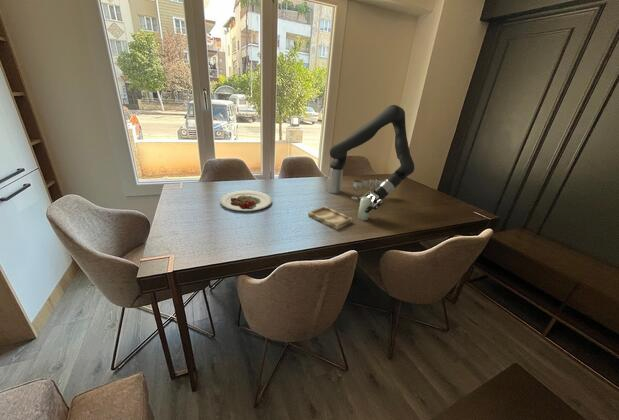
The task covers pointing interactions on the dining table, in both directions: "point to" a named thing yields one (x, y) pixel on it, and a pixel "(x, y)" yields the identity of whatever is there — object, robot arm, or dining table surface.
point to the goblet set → (364, 183)
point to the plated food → (246, 200)
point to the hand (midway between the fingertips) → (362, 208)
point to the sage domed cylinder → (364, 205)
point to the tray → (330, 217)
